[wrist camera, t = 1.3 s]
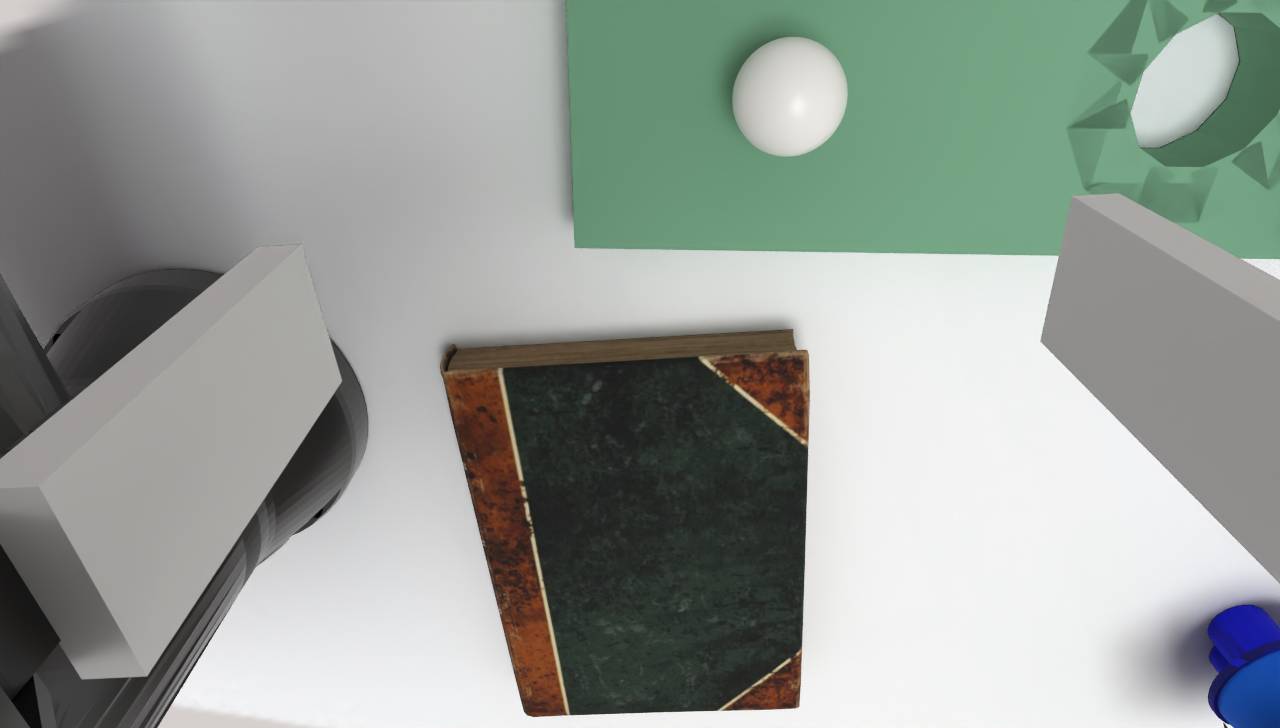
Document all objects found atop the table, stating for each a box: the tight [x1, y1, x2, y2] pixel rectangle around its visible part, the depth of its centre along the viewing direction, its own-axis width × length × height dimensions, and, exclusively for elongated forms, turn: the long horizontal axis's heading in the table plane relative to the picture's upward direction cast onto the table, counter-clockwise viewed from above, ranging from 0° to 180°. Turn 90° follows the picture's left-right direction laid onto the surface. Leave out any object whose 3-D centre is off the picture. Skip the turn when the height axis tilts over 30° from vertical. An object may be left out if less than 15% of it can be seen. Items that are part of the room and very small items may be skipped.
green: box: [566, 0, 1280, 259], centre depth 24 cm, size 32×13×17 cm, turn 90°
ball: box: [732, 37, 848, 157], centre depth 27 cm, size 4×4×4 cm
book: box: [440, 329, 810, 717], centre depth 42 cm, size 17×4×25 cm
